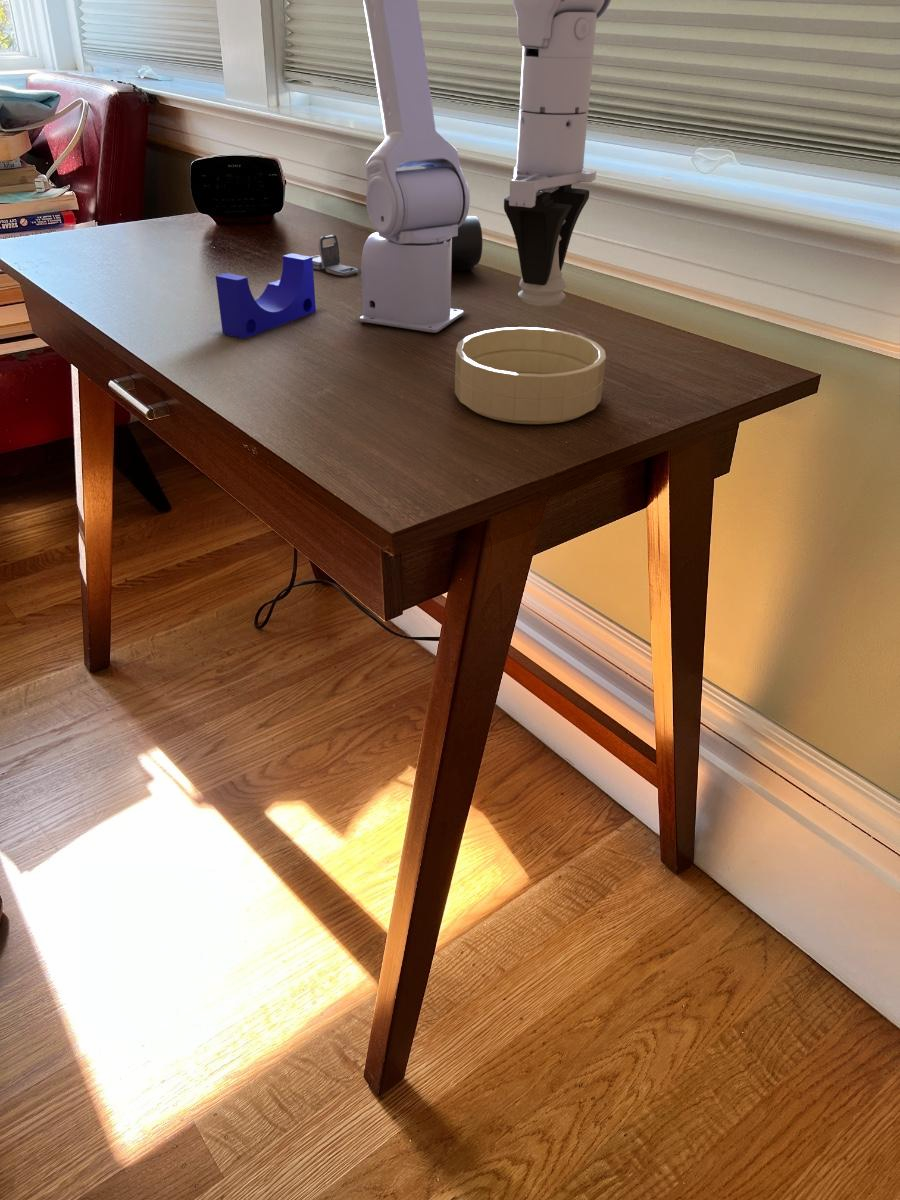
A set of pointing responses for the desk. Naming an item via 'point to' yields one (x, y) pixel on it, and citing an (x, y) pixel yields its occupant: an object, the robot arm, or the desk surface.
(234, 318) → the blue pipe saddle bracket
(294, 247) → the desk surface
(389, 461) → the desk surface
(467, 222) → the end cap
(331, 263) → the strap clip
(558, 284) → the rook chess piece
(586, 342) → the pan
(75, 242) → the desk surface
